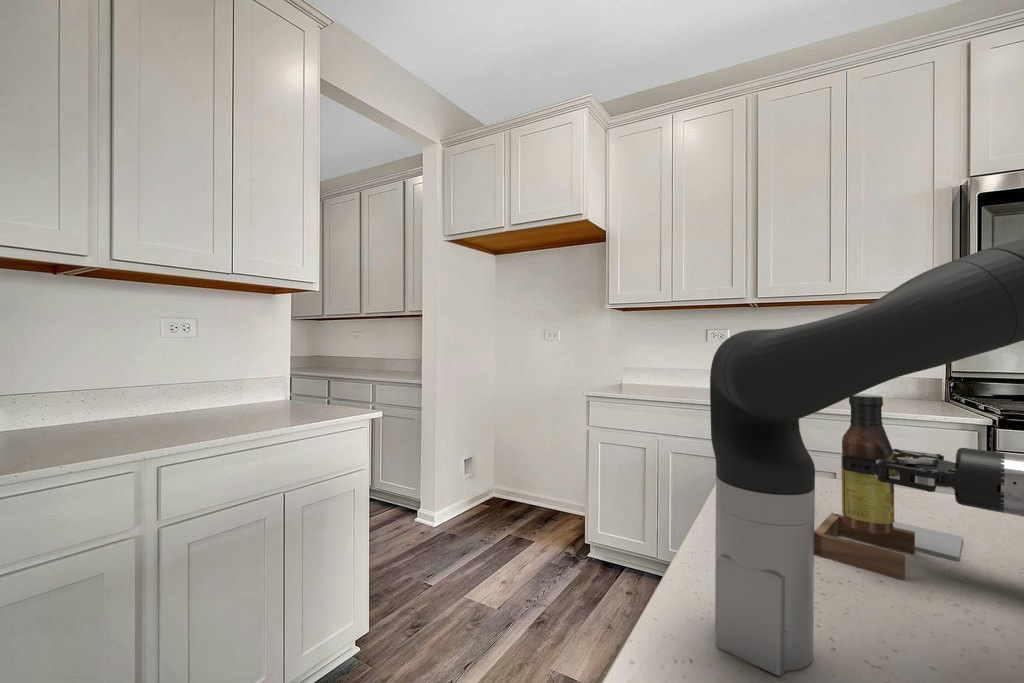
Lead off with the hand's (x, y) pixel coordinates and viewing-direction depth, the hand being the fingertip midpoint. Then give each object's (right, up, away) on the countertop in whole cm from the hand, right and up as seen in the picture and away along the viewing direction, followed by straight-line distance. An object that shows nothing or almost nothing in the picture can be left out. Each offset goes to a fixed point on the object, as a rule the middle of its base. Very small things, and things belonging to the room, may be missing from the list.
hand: (848, 458), depth 72 cm
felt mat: (+14, -14, +3) cm, 20 cm away
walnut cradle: (+2, -14, -2) cm, 14 cm away
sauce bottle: (+2, -10, -2) cm, 10 cm away
